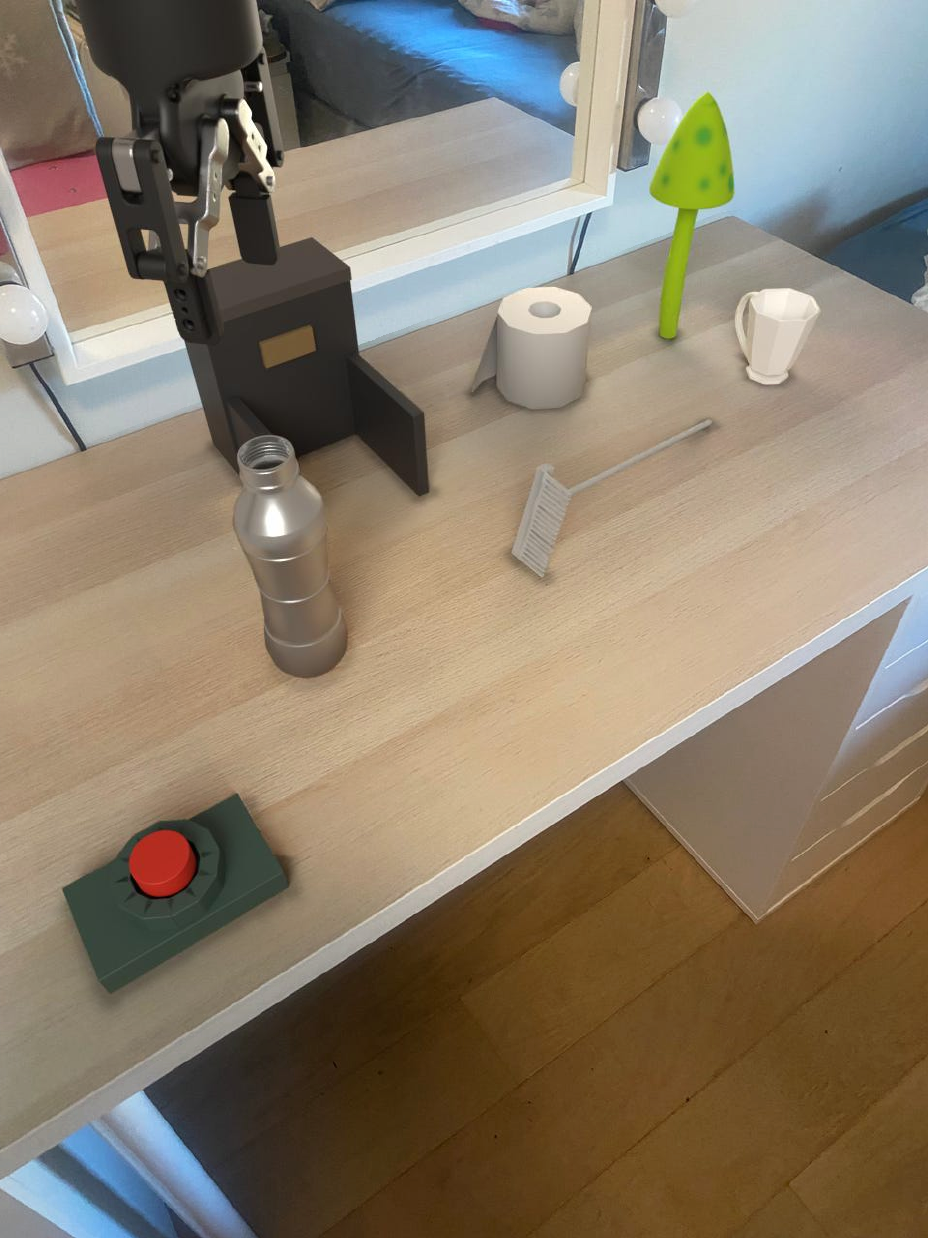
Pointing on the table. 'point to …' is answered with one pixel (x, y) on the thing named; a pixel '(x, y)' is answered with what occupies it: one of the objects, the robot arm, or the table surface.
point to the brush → (541, 505)
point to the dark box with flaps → (300, 365)
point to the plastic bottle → (289, 559)
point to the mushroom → (691, 192)
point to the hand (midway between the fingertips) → (234, 298)
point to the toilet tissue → (538, 347)
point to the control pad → (164, 926)
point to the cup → (775, 331)
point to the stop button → (162, 863)
